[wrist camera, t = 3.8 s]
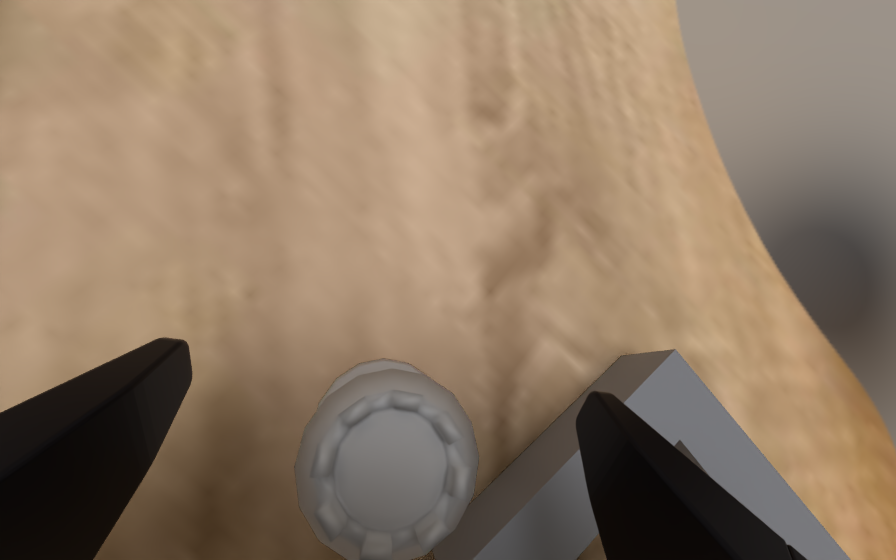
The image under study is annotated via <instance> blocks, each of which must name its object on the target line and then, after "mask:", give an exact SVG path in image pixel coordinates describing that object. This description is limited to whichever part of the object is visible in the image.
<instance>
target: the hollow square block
mask: <svg viewBox="0 0 896 560" xmlns="http://www.w3.org/2000/svg"><path fill="white" fill-rule="evenodd" d="M591 391H604V392H609V393H612V394H613V395H615V396H616V397H617V398H618V399H619V400H620V401H622V402H623V403H624V404H625V405H626V406H628V407H629V408H630V409H631V410H632V411H633V412H635V413H636V414H637V415H638V416H639V417H640V418H642V419H643V420H644V421H645V422H646V423H648V424H649V425H650V426H651V427H652V428H653V429H655V430H656V431H657V432H658V433H659V434H660V435H662V436H663V437H664V438H665V439H666V440H667V441H669V442H670V443H671V444H672V445H673V446H675V447H676V448H677V449H678V450H679V451H680V452H682V453H683V454H684V455H685V456H686V457H687V458H689V459H690V460H691V461H692V462H693V463H695V464H696V465H697V466H698V467H699V468H700V469H702V470H703V471H704V472H705V473H706V474H707V475H709V476H710V477H711V478H712V479H713V480H715V481H716V482H717V483H718V484H719V485H720V486H722V487H723V488H724V489H725V490H726V491H727V492H729V493H730V494H731V495H732V496H733V497H735V498H736V499H737V500H738V501H739V502H740V503H742V504H743V505H744V506H745V507H746V508H747V509H749V510H750V511H751V512H752V513H753V514H754V515H756V516H757V517H758V518H759V519H760V520H762V521H763V522H764V523H765V524H766V525H767V526H769V527H770V528H771V529H772V530H773V531H774V532H776V533H777V534H778V535H779V536H780V537H782V538H783V539H784V540H785V542H786V544H788V545H791V546H792V547H793V548H795V549H796V550H797V551H798V552H799V553H800V554H802V555H803V556H804V557H805V558H806V559H807V560H850V558H849V557H848V556H847V555H846V554H845V552H844V551H843V550H842V549H841V548H840V546H839V545H838V544H837V543H836V542H835V540H834V539H833V538H832V537H831V536H830V534H829V533H828V532H827V531H826V530H825V528H824V527H823V526H822V525H821V524H820V522H819V521H818V520H817V519H816V517H815V516H814V515H813V514H812V513H811V511H810V510H809V509H808V508H807V507H806V505H805V504H804V503H803V502H802V501H801V499H800V498H799V497H798V496H797V495H796V493H795V492H794V491H793V490H792V489H791V487H790V486H789V485H788V484H787V483H786V481H785V480H784V479H783V478H782V477H781V475H780V474H779V473H778V472H777V471H776V469H775V468H774V467H773V466H772V465H771V463H770V462H769V461H768V460H767V459H766V457H765V456H764V455H763V454H762V453H761V451H760V450H759V449H758V448H757V447H756V445H755V444H754V443H753V442H752V441H751V439H750V438H749V437H748V436H747V435H746V433H745V432H744V431H743V430H742V429H741V427H740V426H739V425H738V424H737V423H736V421H735V420H734V419H733V418H732V417H731V415H730V414H729V413H728V412H727V410H726V409H725V408H724V407H723V406H722V404H721V403H720V402H719V401H718V400H717V398H716V397H715V396H714V395H713V394H712V392H711V391H710V390H709V389H708V388H707V386H706V385H705V384H704V383H703V382H702V380H701V379H700V378H699V377H698V376H697V374H696V373H695V372H694V371H693V370H692V368H691V367H690V366H689V365H688V364H687V362H686V361H685V360H684V359H683V358H682V356H681V355H680V354H679V353H678V352H677V350H676V349H674V350H665V351H656V352H648V353H639V354H631V355H622V356H621V357H620V358H619V359H618V360H617V361H616V362H615V363H614V364H613V365H612V366H611V367H610V368H609V369H608V370H607V371H605V372H604V373H603V374H602V375H601V376H600V377H599V378H598V379H597V380H596V381H595V382H594V383H593V384H592V385H591V386H590V387H589V388H588V389H587V390H586V391H585V392H584V393H583V394H582V395H581V396H580V397H579V398H578V399H577V400H576V401H575V402H574V403H573V404H572V405H571V406H570V407H569V408H568V409H567V410H566V411H565V412H564V413H563V414H562V415H560V416H559V417H558V418H557V419H556V420H555V421H554V422H553V423H552V424H551V425H550V426H549V427H548V428H547V429H546V430H545V431H544V432H543V433H542V434H541V435H540V436H539V437H538V438H537V439H536V440H535V441H534V442H533V443H532V444H531V445H530V446H529V447H528V448H527V449H526V450H525V451H524V452H523V453H522V454H521V455H520V456H519V457H518V458H517V459H515V460H514V461H513V462H512V463H511V464H510V465H509V466H508V467H507V468H506V469H505V470H504V471H503V472H502V473H501V474H500V475H499V476H498V477H497V478H496V479H495V480H494V481H493V482H492V483H491V484H490V485H489V486H488V487H487V488H486V489H485V490H484V491H483V492H482V493H481V494H480V495H479V496H478V497H477V498H476V499H475V500H474V501H473V502H472V503H470V504H469V505H468V506H467V508H466V510H465V512H464V514H463V516H462V518H461V519H460V521H459V523H458V525H457V527H456V529H455V530H454V531H453V532H451V533H450V534H449V535H448V536H447V537H446V538H445V539H443V540H442V541H441V542H440V543H439V544H438V545H436V546H435V547H434V548H433V549H432V552H433V554H434V557H435V560H576V559H577V558H578V557H579V555H580V554H581V553H582V552H583V551H584V550H585V549H586V547H587V546H588V545H589V544H590V543H591V542H592V540H593V539H594V538H595V537H596V536H597V535H598V534H599V531H598V528H597V524H596V521H595V517H594V514H593V510H592V507H591V503H590V499H589V495H588V490H587V485H586V480H585V475H584V469H583V464H582V459H581V453H580V448H579V443H578V437H577V432H576V418H577V415H578V413H579V411H580V409H581V407H582V405H583V403H584V401H585V400H586V398H587V396H588V394H589V393H590V392H591Z"/></svg>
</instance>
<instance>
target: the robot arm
mask: <svg viewBox="0 0 896 560" xmlns="http://www.w3.org/2000/svg"><path fill="white" fill-rule="evenodd" d="M191 381H192V366H191V359H190V352H189V346H188V344H187V342H186V341H184V340H181V339H173V338H158V339H156V340H154V341H152V342H149V343H147V344H145V345H143V346H141V347H139V348H137V349H135V350H132V351H130V352H128V353H126V354H124V355H122V356H120V357H118V358H115V359H113V360H111V361H109V362H107V363H105V364H103V365H101V366H99V367H96V368H94V369H92V370H90V371H88V372H86V373H84V374H82V375H79V376H77V377H75V378H73V379H71V380H69V381H67V382H65V383H62V384H60V385H58V386H56V387H54V388H52V389H50V390H48V391H45V392H43V393H41V394H39V395H37V396H35V397H33V398H31V399H28V400H26V401H24V402H22V403H20V404H18V405H16V406H14V407H11V408H9V409H7V410H5V411H3V412H1V413H0V560H93V559H94V557H95V556H96V554H97V553H98V551H99V549H100V548H101V546H102V545H103V543H104V541H105V540H106V538H107V536H108V535H109V533H110V532H111V530H112V528H113V527H114V525H115V524H116V522H117V520H118V519H119V517H120V515H121V514H122V512H123V511H124V509H125V507H126V506H127V504H128V503H129V501H130V499H131V498H132V496H133V494H134V493H135V491H136V490H137V488H138V486H139V485H140V483H141V482H142V480H143V478H144V477H145V475H146V473H147V472H148V470H149V468H150V466H151V465H152V463H153V461H154V459H155V457H156V455H157V453H158V451H159V449H160V447H161V445H162V443H163V441H164V439H165V437H166V434H167V432H168V430H169V428H170V426H171V424H172V422H173V420H174V418H175V416H176V414H177V412H178V410H179V408H180V405H181V403H182V401H183V399H184V397H185V395H186V393H187V391H188V389H189V387H190V384H191ZM576 432H577V437H578V443H579V448H580V453H581V459H582V464H583V469H584V475H585V480H586V485H587V490H588V495H589V499H590V503H591V507H592V510H593V514H594V517H595V521H596V524H597V528H598V531H599V534H600V538H601V541H602V545H603V548H604V552H605V555H606V558H607V560H807V559H806V558H805V557H804V556H803V555H802V554H800V553H799V552H798V551H797V550H796V549H795V548H793V547H792V546H791V545H788V544H786V542H785V540H784V539H783V538H782V537H780V536H779V535H778V534H777V533H776V532H774V531H773V530H772V529H771V528H770V527H769V526H767V525H766V524H765V523H764V522H763V521H762V520H760V519H759V518H758V517H757V516H756V515H754V514H753V513H752V512H751V511H750V510H749V509H747V508H746V507H745V506H744V505H743V504H742V503H740V502H739V501H738V500H737V499H736V498H735V497H733V496H732V495H731V494H730V493H729V492H727V491H726V490H725V489H724V488H723V487H722V486H720V485H719V484H718V483H717V482H716V481H715V480H713V479H712V478H711V477H710V476H709V475H707V474H706V473H705V472H704V471H703V470H702V469H700V468H699V467H698V466H697V465H696V464H695V463H693V462H692V461H691V460H690V459H689V458H687V457H686V456H685V455H684V454H683V453H682V452H680V451H679V450H678V449H677V448H676V447H675V446H673V445H672V444H671V443H670V442H669V441H667V440H666V439H665V438H664V437H663V436H662V435H660V434H659V433H658V432H657V431H656V430H655V429H653V428H652V427H651V426H650V425H649V424H648V423H646V422H645V421H644V420H643V419H642V418H640V417H639V416H638V415H637V414H636V413H635V412H633V411H632V410H631V409H630V408H629V407H628V406H626V405H625V404H624V403H623V402H622V401H620V400H619V399H618V398H617V397H616V396H615V395H613V394H612V393H609V392H604V391H591V392H590V393H589V394H588V396H587V398H586V400H585V401H584V403H583V405H582V407H581V409H580V411H579V413H578V415H577V418H576Z"/></svg>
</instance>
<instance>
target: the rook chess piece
mask: <svg viewBox="0 0 896 560" xmlns="http://www.w3.org/2000/svg"><path fill="white" fill-rule="evenodd" d="M478 461H479V454H478V450H477V445H476V440H475V436H474V431H473V426H472V422H471V420H470V419H469V417H468V416H467V414H466V413H465V411H464V410H463V408H462V407H461V405H460V404H459V402H458V401H457V399H456V398H455V396H454V394H453V393H452V392H450V391H449V390H447V389H446V388H444V387H443V386H441V385H440V384H438V383H437V382H435V381H434V380H432V379H431V378H430V377H428V376H427V375H426V374H424V373H423V372H421V371H420V370H418V369H417V368H415V367H414V366H412V365H411V364H409V363H405V362H400V361H395V360H389V359H379V360H374V361H369V362H364V363H359V364H357V365H356V366H354V367H353V368H351V369H350V370H348V371H347V372H345V373H344V374H342V375H341V376H339V377H338V378H336V380H335V381H334V382H333V384H332V385H331V387H330V388H329V389H328V391H327V392H326V394H325V395H324V396H323V398H322V399H321V401H320V402H319V404H318V408H317V411H316V413H315V414H314V416H313V417H312V418H311V420H310V421H309V423H308V424H307V425H306V427H305V429H304V432H303V436H302V440H301V444H300V448H299V451H298V455H297V459H296V463H295V466H294V468H295V476H296V485H297V493H298V501H299V507H300V509H301V511H302V513H303V514H304V516H305V518H306V519H307V521H308V523H309V525H310V526H311V528H312V530H313V531H314V533H315V535H316V536H317V538H318V540H319V541H320V542H322V543H323V544H325V545H326V546H328V547H329V548H331V549H332V550H333V551H335V552H336V553H338V554H339V555H341V556H342V557H344V558H345V559H347V560H412V559H415V558H418V557H421V556H424V555H426V554H427V553H428V552H430V551H431V550H432V549H433V548H434V547H435V546H436V545H438V544H439V543H440V542H441V541H442V540H443V539H445V538H446V537H447V536H448V535H449V534H450V533H451V532H453V531H454V530H455V529H456V527H457V525H458V523H459V521H460V519H461V518H462V516H463V514H464V512H465V510H466V508H467V506H468V505H469V503H470V501H471V499H472V497H473V495H474V490H475V483H476V476H477V469H478Z"/></svg>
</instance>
